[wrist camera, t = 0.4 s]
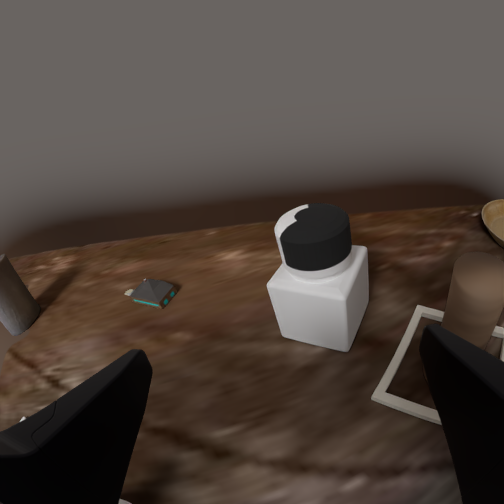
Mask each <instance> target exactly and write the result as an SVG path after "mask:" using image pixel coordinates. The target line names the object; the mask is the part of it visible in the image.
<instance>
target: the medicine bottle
mask: <svg viewBox="0 0 504 504" xmlns="http://www.w3.org/2000/svg"><path fill="white" fill-rule="evenodd" d="M275 235H276V239H277V242H278V246H279V250H280V254H281V258H282V262H283V263H282V265H281V266H280V267H279V269H278V270H277V271H276V273H275V274H274V275H273V277H272V278H271V279H270V281H269V282H268V283H267V289H268V292H269V295H270V298H271V301H272V305H273V308H274V311H275V314H276V317H277V321H278V324H279V327H280V330H281V334H282V336H283V337H286V338H290V339H293V340H297V341H301V342H305V343H309V344H313V345H317V346H321V347H325V348H329V349H334V350H338V351H342V352H348V351H349V350H350V347H351V345H352V343H353V340H354V338H355V336H356V333H357V331H358V328H359V326H360V323H361V321H362V318H363V315H364V313H365V310H366V307H367V305H368V302H369V280H368V254H367V248H366V247H365V246H357V245H352V242H351V232H350V223H349V217H348V215H347V213H346V212H344V211H343V210H342V209H341V208H339V207H337V206H334V205H330V204H321V203H314V204H307V205H303V206H300V207H297V208H295V209H293V210H291V211H289V212H287V213H286V214H284V215H283V216H282V217H281V218H280V219H279V220H278V222H277V224H276V226H275Z"/></svg>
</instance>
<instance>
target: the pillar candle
mask: <svg viewBox="0 0 504 504" xmlns="http://www.w3.org/2000/svg"><path fill="white" fill-rule="evenodd" d="M39 312H40V306H39V304H37V302H36V301H35V300H34V298H33V297H32V295H31V294H30V292H29V291H28V289H27V288H26V286H25V285H24V283H23V282H22V280H21V279H20V277H19V276H18V274H17V273H16V271H15V270H14V268H13V266H12V265H11V263H10V261H9V260H8V258H7V257H6V255H5V254H2V255H1V256H0V321H1V322H2V323H3V325H4V326H5V327H6V328H7V329H8V331H9V332H10V333H11V334H12V335H14V336H17V335H19V334H21V333H23V332H24V331H25V330H27V329H28V328H29V327H30V326H31V325H32V323H33V322H34V320H35V319H36V318H37V316H38V315H39Z"/></svg>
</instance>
